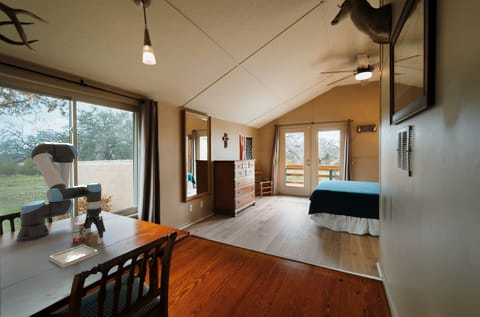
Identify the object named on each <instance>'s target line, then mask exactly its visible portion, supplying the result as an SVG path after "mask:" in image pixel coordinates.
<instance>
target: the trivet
mask: <svg viewBox="0 0 480 317" xmlns="http://www.w3.org/2000/svg"><path fill="white" fill-rule="evenodd" d="M98 254H99V250H98V249H96V248H93V247H89V246H87V245H85V243H83V244H82V243H81V244H80V245H76V246H74V247H71V248H68V249H65V250H62V251H60V252H57V253H53V254H51V255H49V256H48V261H50V262H52V263H53V264H56V265H57V266H58V267H61V268H63V269H64V268H67V267H69V266H72V265H74V264H77V263H79V262H81V261H83V260H84V261H85V260H86V259H89V258H91V257H94V256H96V255H98Z"/></svg>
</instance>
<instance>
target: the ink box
mask: <svg viewBox="0 0 480 317" xmlns="http://www.w3.org/2000/svg"><path fill="white" fill-rule="evenodd" d="M84 223H85V219H84V220H81V221H78V222H75V223H73V224H72V242H73V243H82V242H83V241H84V242H85V234H86V229H85V227H83V226H84ZM86 225H87V224H86ZM90 228H91V229H92V226H91V227H90Z"/></svg>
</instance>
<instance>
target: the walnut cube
mask: <svg viewBox="0 0 480 317" xmlns="http://www.w3.org/2000/svg"><path fill="white" fill-rule="evenodd" d="M97 233H98V230H97V229H96V230H93V231H92V230H91V232H89V233H86V234H85V240H84V245H86V246H90V247H91V248H93V247H95V246H98V245H101V244H103V243H104V241H103V242H102V243H100V244H98V234H97Z"/></svg>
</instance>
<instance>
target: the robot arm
mask: <svg viewBox="0 0 480 317" xmlns="http://www.w3.org/2000/svg"><path fill="white" fill-rule="evenodd" d="M78 153H79V152H78V150H77V147H76V145H75V144H72V143H66V142H65V143H64V142H42V143H40V144H37V145H35V147H34V148H33V149H32V150H31V153H30V158H31V160H32V163H34V164H36V166H37V168H38V170H39V172H40V173H41V176H42V177H43V179H44V181H45V184H46V185H47V187H48V190H47V192H46V199H47V201H45V200H35V201H30V202H27V203H25V204H23V205H21V207H20V212H19V214H20V228H19V230H18V233H17V236H16V241H18V242H29V241H35V240H39V239H42V238H44V237H47V236H48V235H49V234H50V230H49V227H48V226H47V224H46V220H47V219H51V218H55V217H61V216H64V215H68V214H70V213H71V212H72V211H73V209H74V201H73V200H74V199H80V198H86V204H85V205H86V216H85V219H84V220H85V223H84V226H83V227H85V229H86V233H89V232H92V225H93V224H94V225H95V228H96V230H98V233H97V234H98V245H101V244H103V243H104V233H106V227H105V223H104V219H103V216H100V214H101V213H102V189H103V188H102V184H101V183H100V182H92V183H91V182H90V183H87V184H79V185H76V186H69V185H70V184H69V181H70V171H71V164H73V163H74V160H76V159H78ZM86 224H87V225H86ZM90 227H91V228H90ZM102 242H103V243H102ZM100 243H101V244H100Z"/></svg>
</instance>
